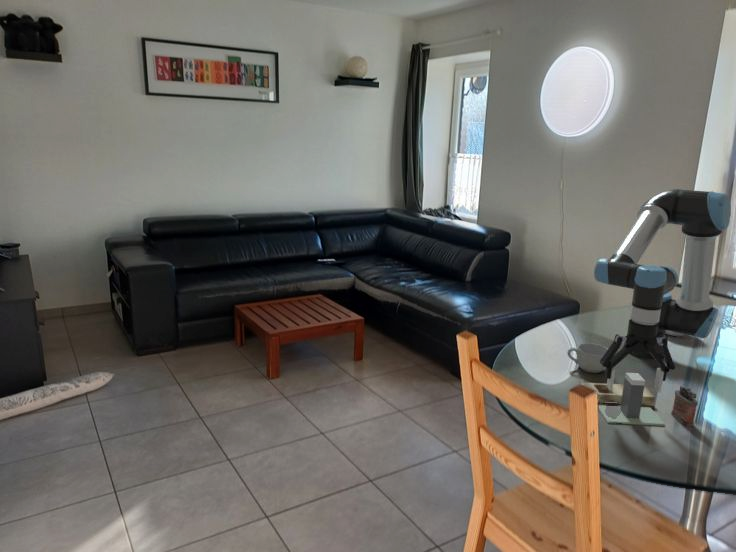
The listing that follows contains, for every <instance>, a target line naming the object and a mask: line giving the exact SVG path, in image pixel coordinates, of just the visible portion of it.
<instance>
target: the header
mask: <svg viewBox="0 0 736 552" xmlns="http://www.w3.org/2000/svg"><path fill="white" fill-rule="evenodd" d="M580 385H585V386H587V387H590V388H592V389H594V390H596V391H597V393H598V399H599V403H598V404H601V405H604V404H603V403H605V402H617V403H621V400H622V393H623V386H624V383H623V384H621V383H620V384H619V383H613V390H609V389H608V388H607V383H604V382H603V383H602V382H601V383H599V382H579V386H580ZM655 399H656V398H655V395H654V394H653V393H652V392H651V391H650V390H649V389H648V388H647V387H646V386H644V392H643V398H642V404H641V406H644V407H654V403H655Z"/></svg>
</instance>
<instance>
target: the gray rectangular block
mask: <svg viewBox="0 0 736 552" xmlns="http://www.w3.org/2000/svg"><path fill="white" fill-rule="evenodd" d="M645 383H646V380H645V379H644V378H643V377H642V376H641V374H640V373H639V372H637V373H636V372H625V374H624V381H623V384H624V386H623V393H622V400H621V404H620V405H619V406H620V410H621V411H622V413H623V414H624V415H625V417H626V418H639V416H640V410H641V407H642V405H641V404H642V398H643V392H644V386H645ZM645 387H646V386H645Z"/></svg>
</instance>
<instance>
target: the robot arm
mask: <svg viewBox="0 0 736 552" xmlns="http://www.w3.org/2000/svg"><path fill="white" fill-rule="evenodd" d="M731 205H732V204H731V200H730V198H729V196H728V195H727V194H725V193H722V192H715V191H713V190H712V191H705V190H704V191H703V190H690V189H679V188H678V189H677V188H675V189H673V188H672V189H668V190H665V191H662V192H659V193H658V194H656V195H654V196H652V197H651V198H650V199H648V200H647V201H646V202H644V204H642V205H641V206H640V207H639V209H638V212H637V215H636V217H637V218H636V220H635V221H634V223H633V224H632V226H631V227H630V229H629V230H628V232H627V233H626V235H625V236H624V238H623V239H622V241H621V242H620V244H619V245H618V246H617V248H615V251H614V252H613V254H612V256H610V258H600V259H598V261H597V262H596V264H595V266H594V271H593V275H594V276H593V277H594V279H595V281H596V282H598V283H602V284H605V285H609V286H615V287H621V288H626V289H632V290H633V291H632V292H633V293H632V301H631V304H630V305H631V306H630V313H629V318H630V319H628V325H627V334H626V336H622V335H619V334H615V335H614V338H613V339H614V340H613V342H612V343H611V344H610V346H609V347H608V350H607V352H606V353H605V354H604V356H603V357H602V359H601V360H600V363H601V364H602V366H603V367H606V369H605V370H604V372H605V373H604V376H605V378H606V379H607V380H606V384H607V388H608V389H609V390H613V384H615V383H614V382H615V381H614V380H615V376H616V375H615V374H616V366H617V365H618V364H619V363H620V362H621V361H623V360H624V359H625V358H626V357H628V355H630V354H631V355H633V356H637V357H640V358H644V359H645V358H646V359H652V360H653V359H654V360H655V362H656V364H657V365H658V366H659V367H657V368H656V371H655V372H656V373H655V380H654V385H653V389H654V390H655V392H656V393H661V392H662V386H663V382H666V380H667V374H668V373H669V372H670V371H671V370H673V371H674V370H675V369H676V366H675V363H674V360H673V358H672V357H673V356H672V355H671V353H670V349H669V347H668V343H669V342H668V338H666V333H665V332H666V330H668V331H673V332H677V333H681V334H685V335H684V336H686V335H687V336H690V337H692V338H694V337H695V338H699V339H706V338H708V337H709V336H710V334H711V332H712V330H713V327H714V325H715V323H716V320H717V317H718V315H719V314H718V313H719V309H718V308H717V307H715V306H714V301H713V300H712V299H711V298H710V291H711V281H712V272H713V265H714V257H715V247H716V241H717V237H719V236H720V235H722V233H723V231H725V230H727V229H728V228H729V225H730V220H731V217H732V214H731V213H732V212H731V211H732V207H731ZM667 224H668V225H670V224H672V225H679V226H681V233H682V234H683V235H685V245H684V256H683V265H682V266H683V268H682V275H681V276H682V279H681V289H680V294H679V295H677V296H676V297H675V299H673V297H672V294H670V292H672V291H673V290H674V288H675V287H676V286H677V285H678V283H679V275H678V273H677V271H676V270H675V269H674V268H672V267H670V266H667V265H666V266H665V265H661V266H656V265H648V264H647V265H643V264H638V263H639V262H640V260H641V258H642V256H643V255H644V254H645V252H646V251H647V249H648V247H649V246H650V244H651V243H652V241H653V239H654V238H655V237H656V235H657V234H658V232H659V230H660V229H663V228H664V227H666V225H667ZM622 345H623V346H622ZM621 346H622V348H621ZM620 348H621V349H620ZM619 349H620V350H619ZM663 359H664V360H665V362H664V361H663Z"/></svg>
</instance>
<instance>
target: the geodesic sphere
mask: <svg viewBox="0 0 736 552" xmlns="http://www.w3.org/2000/svg"><path fill="white" fill-rule="evenodd" d="M666 334H667V335H669V336H674V337H677V338H678V337H683V336H686V335H685V334H681V333H677V332H673V331H668V330H666V332H665V335H666Z"/></svg>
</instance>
